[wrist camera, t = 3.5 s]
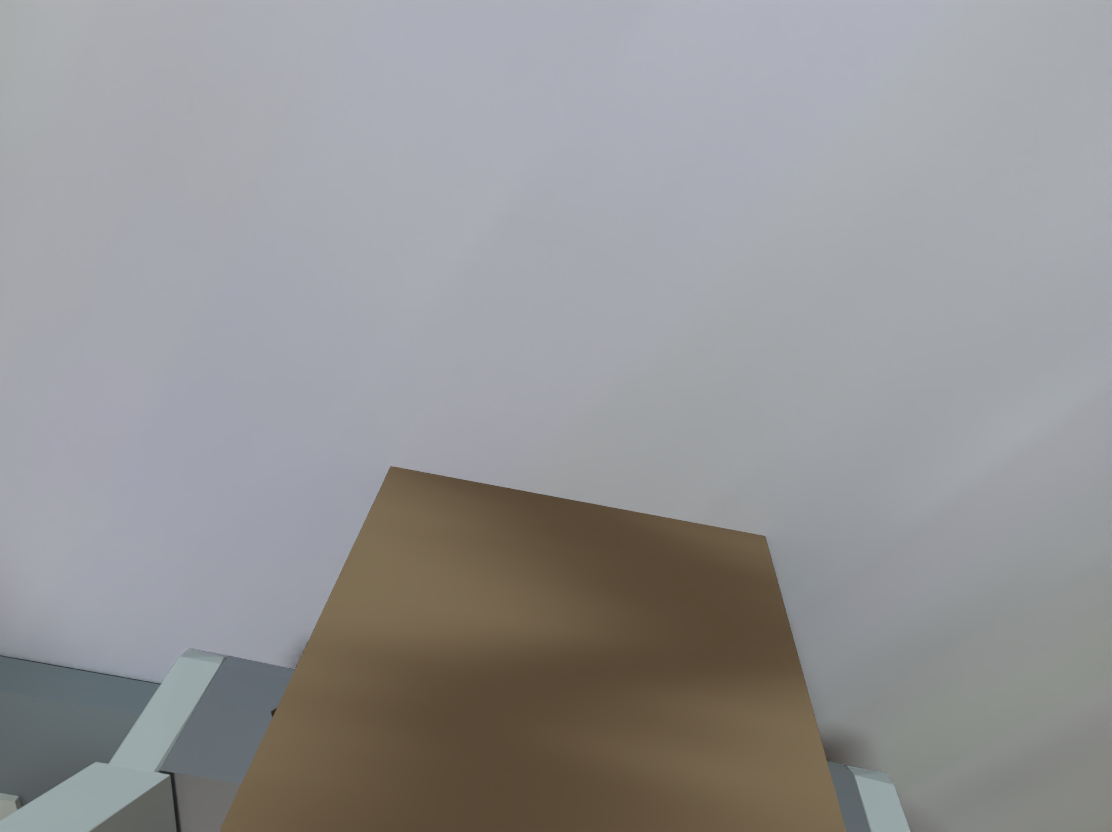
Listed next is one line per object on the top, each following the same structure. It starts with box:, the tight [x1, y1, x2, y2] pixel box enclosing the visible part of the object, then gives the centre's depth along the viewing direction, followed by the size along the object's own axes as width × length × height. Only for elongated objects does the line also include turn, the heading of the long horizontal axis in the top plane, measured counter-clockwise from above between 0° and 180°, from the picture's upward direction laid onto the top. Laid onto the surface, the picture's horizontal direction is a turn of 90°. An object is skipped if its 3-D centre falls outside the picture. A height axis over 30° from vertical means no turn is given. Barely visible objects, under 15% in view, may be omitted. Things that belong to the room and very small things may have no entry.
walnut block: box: [220, 466, 846, 832], centre depth 9 cm, size 5×5×5 cm
